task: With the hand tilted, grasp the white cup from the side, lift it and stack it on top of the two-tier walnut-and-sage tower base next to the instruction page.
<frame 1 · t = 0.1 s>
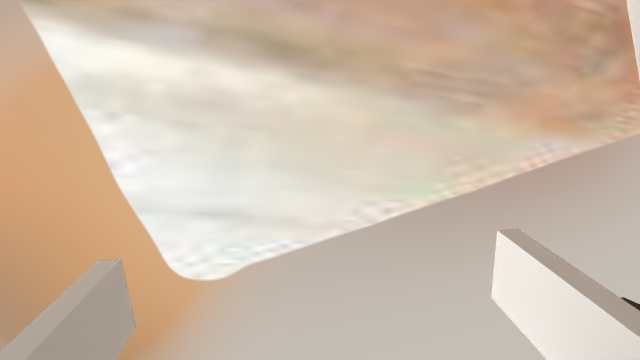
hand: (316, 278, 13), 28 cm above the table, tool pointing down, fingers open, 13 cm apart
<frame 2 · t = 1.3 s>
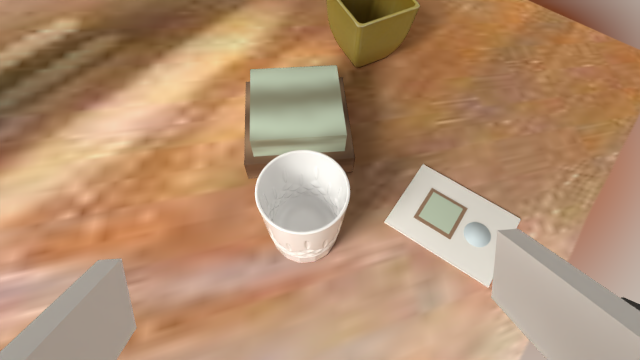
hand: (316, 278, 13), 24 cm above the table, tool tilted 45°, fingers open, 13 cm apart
instruction page: (452, 221, 40), on the table
tower base: (297, 133, 45), on the table
white cup: (304, 233, 39), on the table
flower pot: (363, 53, 53), on the table
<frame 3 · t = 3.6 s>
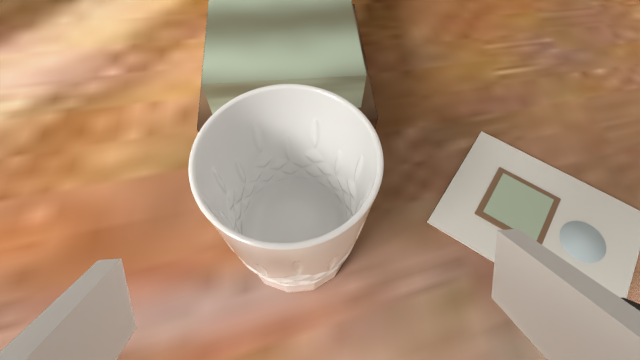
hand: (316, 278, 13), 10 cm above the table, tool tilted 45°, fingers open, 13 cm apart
instruction page: (537, 219, 25), on the table
tower base: (287, 87, 30), on the table
white cup: (297, 240, 24), on the table
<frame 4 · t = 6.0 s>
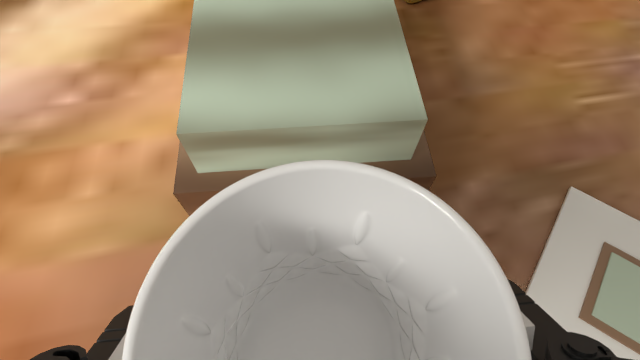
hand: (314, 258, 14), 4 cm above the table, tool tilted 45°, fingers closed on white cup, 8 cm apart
tower base: (301, 121, 22), on the table
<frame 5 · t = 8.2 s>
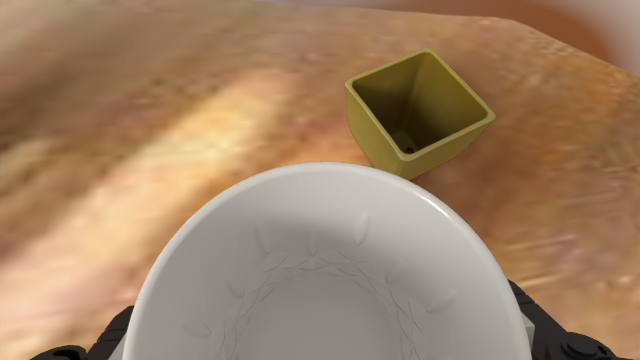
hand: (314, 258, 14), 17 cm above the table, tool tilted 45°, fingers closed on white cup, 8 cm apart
flower pot: (396, 160, 37), on the table
when the fingers open (11 cm above the table, at t = 10.5 s): white cup drops 1 cm, resting on tower base.
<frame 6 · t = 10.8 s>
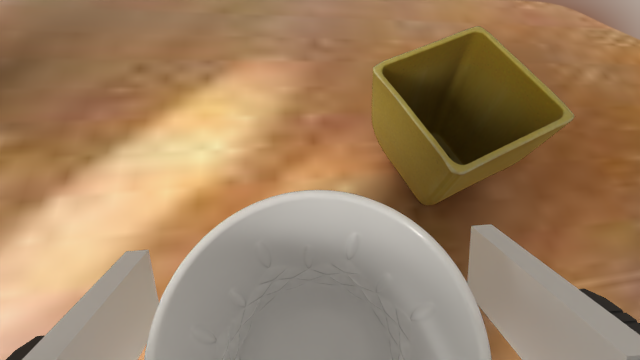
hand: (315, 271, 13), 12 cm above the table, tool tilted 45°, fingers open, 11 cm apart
flower pot: (428, 169, 30), on the table
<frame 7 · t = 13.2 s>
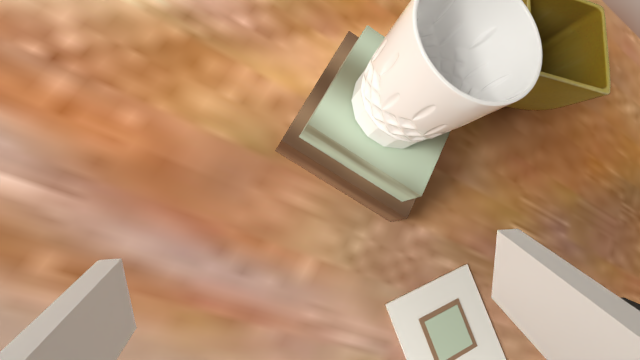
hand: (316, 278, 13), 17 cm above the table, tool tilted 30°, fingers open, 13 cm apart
instruction page: (453, 348, 32), on the table
tower base: (363, 132, 34), on the table
white cup: (390, 108, 28), point 6 cm above the table, touching tower base
flower pot: (492, 84, 40), on the table
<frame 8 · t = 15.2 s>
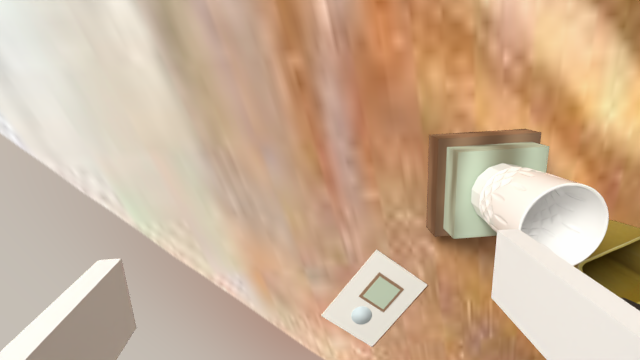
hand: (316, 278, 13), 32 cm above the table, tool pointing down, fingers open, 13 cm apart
instruction page: (374, 299, 50), on the table
tower base: (474, 179, 46), on the table
white cup: (498, 192, 41), point 6 cm above the table, touching tower base
flower pot: (565, 243, 50), on the table
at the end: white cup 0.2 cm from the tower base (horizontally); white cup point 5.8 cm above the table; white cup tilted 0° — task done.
